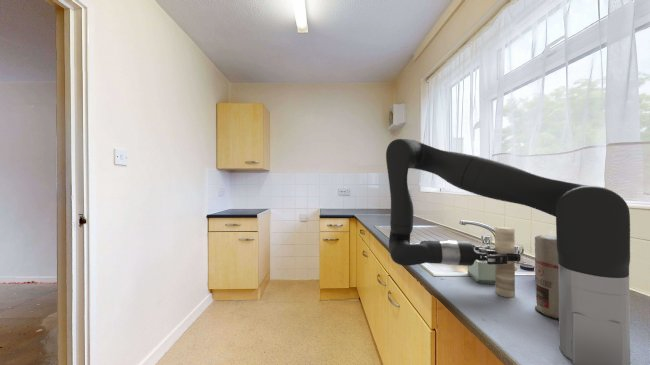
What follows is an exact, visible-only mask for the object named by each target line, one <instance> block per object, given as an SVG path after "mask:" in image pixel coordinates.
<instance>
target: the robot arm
mask: <svg viewBox="0 0 650 365" xmlns="http://www.w3.org/2000/svg"><path fill="white" fill-rule="evenodd" d="M385 152H386V153H385V160H386V162H385V163H386V167H387V169H386V170H387V176H388V186H389V191H390V192H389V194H390V223H389V224H390V231H389V239H388V250H389V251H388V252H389V255H390V259H391V260H392V261H393V262H394V263H395V264H397V265H399V266H405V267H407V266H410V267H411V266H417V265H423V264H436V265H437V264H439V265H440V264H441V265H447V266H463V267H464V266H465V267H466V266H467V267H468V266H472V265H473V264H474V262H475V260H479V261H480V262H487V264H489V265H492V264H508V261H515V262H519V263H520V262H521V259H522V258H521V257H522V256H521V254H520V253H517V252H515V253H501V252H497V251H496V250H495V246H492V247H491V245H480V244H472V242H471V241H469V240H448V239H446V240H445V239H444V240H422V241H421V242H419V243H414V244H411V233H412V232H413V228H414V214H415V213H414V203H413V201H412V197H411V194H410V193H411V192H410V190H409V186H408V175H409V174H408V173H409V169H414V170H420V171H424V172H428V173H431V174H434V175H436V176H437V177H439V178H440V179H443V181H445V182H447V183H448V184H450V185H452V186H453V187H456V188H458V189H461V190H462V191H463V190H464V191H466V192H469V193H471V194H474V195H477V196H481V197H484V198H488V199H493V200H496V201H502V202H507V203H512V204H517V205H521V206H525V207H529V208H532V209H535V210H538V211H540V212H541V213H545V214H548V215H550V216H553V217H555V227H556V229H555V231H556V234H555V235H556V236H555V237H557V252H558V263H559V264H558V269H559V319H558V332H559V333H558V335H559V337H558V339H559V343H558V345H559V350H560V351H561V353H562V354H563V355H564V356H565V357H566V358H568V359H569V360H570V361H571V362H572V364H573V365H631V325H630V324H631V320H630V319H631V317H630V316H631V315H630V314H631V313H630V312H631V311H630V309H631V308H630V307H631V306H630V304H631V303H630V263H631V212H630V208H629V206H628V203H627V202H626V200H625V199H624V198H623V197H621V195H619V194H618V193H616V192H615V191H613V190H611V189H608V188H607V187H602V186H597V185H588V184H580V183H574V182H569V181H563V180H558V179H554V178H548V177H544V176H540V175H537V174H535V173H532V172H529V171H527V170H523V169H520V168H518V167H515V166H512V165H511V164H505V163H504V162H503V163H502V162H500V161H498V160H493V159H490V158H487V157H486V158H485V157H481V156H478V155H472V154H469V153H463V152H456V151H448V150H443V149H440V148H436V147H435V146H434V147H433V146H430V145H428V144H425V143H423V142H420V141H419V140H415V139H405V138H397V139H394V140H392V141H391V142H390V143H389V144H388V145H387V147H386V151H385ZM501 257H502V259H501Z"/></svg>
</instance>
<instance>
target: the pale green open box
mask: <svg viewBox="0 0 650 365" xmlns="http://www.w3.org/2000/svg"><path fill="white" fill-rule="evenodd" d="M468 273H469V274H470V275H469V274H468ZM467 274H468V275H469V276H470V277H471V278H472V279H473V280H475V281H476V282H477V283H479V284H494V285H495V264H492V265H489V264H487V262H480V261H479V260H475V262H474V264H473V265H472V266H467Z"/></svg>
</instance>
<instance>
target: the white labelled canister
mask: <svg viewBox="0 0 650 365" xmlns="http://www.w3.org/2000/svg"><path fill="white" fill-rule="evenodd" d="M535 237H536V238H535ZM535 237H534V249H535V248H536V254H535V253H534V261H535V260H536V279H535V284H536V286H535V293H536V295H535V298H536V299H535V300H536V301H535V302H536V305H535V307H534V308H535V309H536V311H538V312H540V313H541V314H543V315H545V316H547V317H550V318H553V319H557V320H559V269H558V264H559V263H558V252H557V237H556V236H553V235H542V234H539V235H536V236H535Z"/></svg>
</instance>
